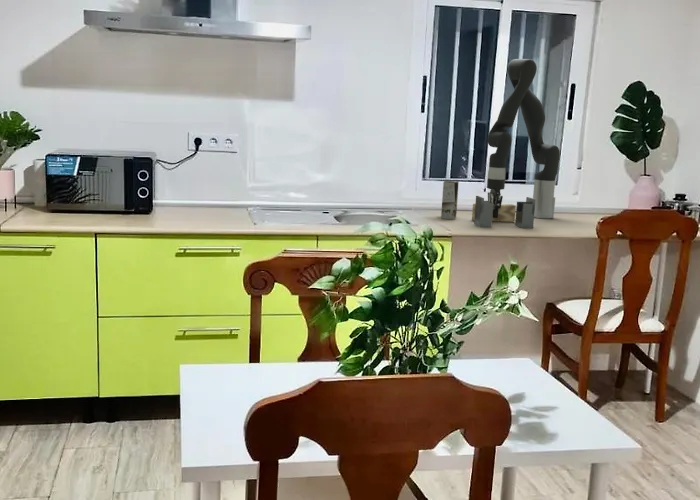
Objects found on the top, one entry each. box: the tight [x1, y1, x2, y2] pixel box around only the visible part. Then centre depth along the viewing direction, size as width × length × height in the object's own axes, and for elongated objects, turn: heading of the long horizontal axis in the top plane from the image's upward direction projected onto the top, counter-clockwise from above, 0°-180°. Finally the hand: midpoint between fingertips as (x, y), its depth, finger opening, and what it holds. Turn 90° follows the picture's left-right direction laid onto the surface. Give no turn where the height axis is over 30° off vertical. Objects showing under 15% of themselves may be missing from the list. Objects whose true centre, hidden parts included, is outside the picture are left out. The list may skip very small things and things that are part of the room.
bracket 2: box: [514, 196, 536, 229], centre depth 315 cm, size 5×8×12 cm, turn 7°
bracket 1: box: [473, 195, 493, 228], centre depth 313 cm, size 5×8×12 cm, turn 7°
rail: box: [471, 203, 517, 223], centre depth 328 cm, size 18×4×7 cm, turn 97°
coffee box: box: [440, 180, 460, 220], centre depth 332 cm, size 9×6×16 cm
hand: (493, 216), depth 329 cm, fingers closed on rail, 4 cm apart
